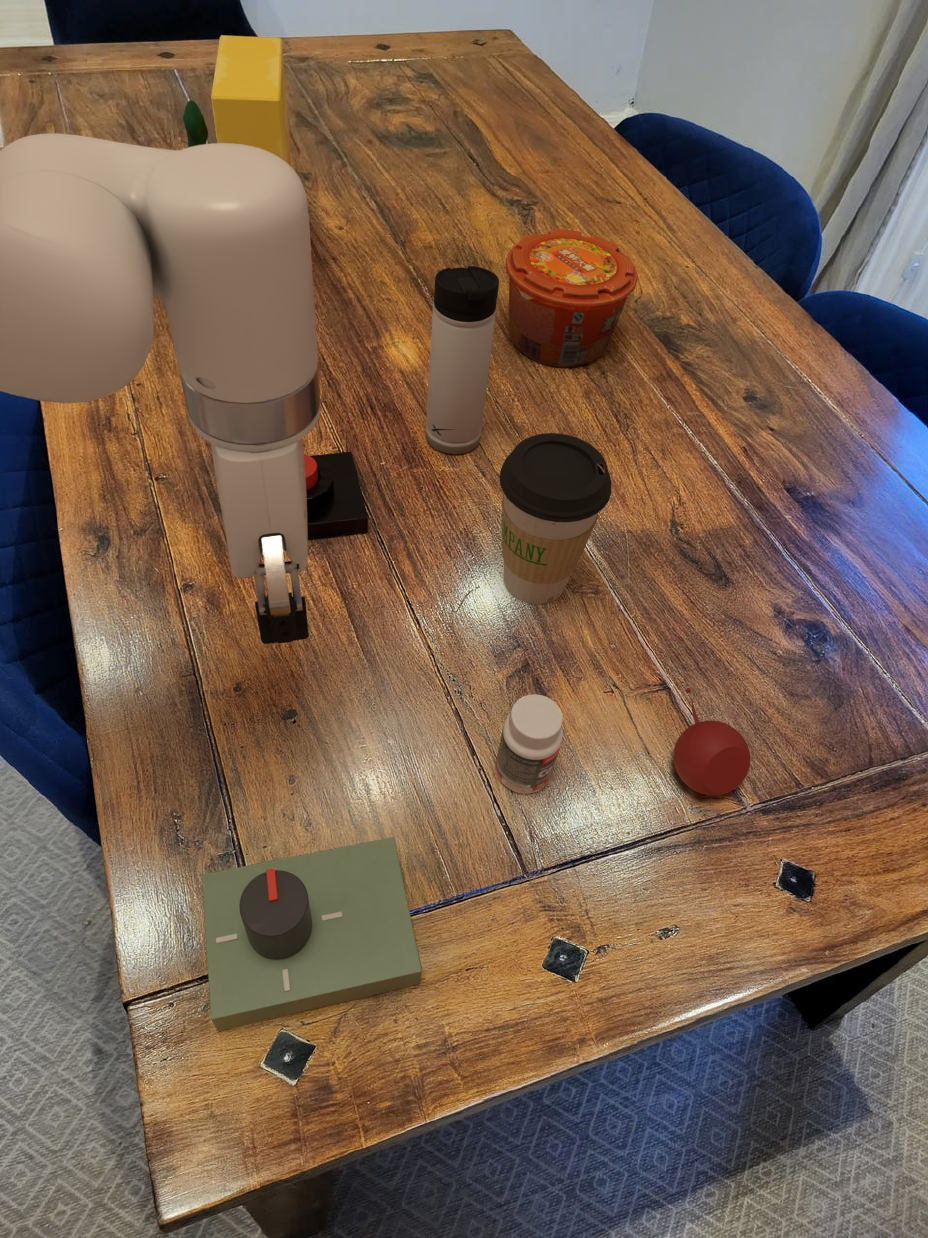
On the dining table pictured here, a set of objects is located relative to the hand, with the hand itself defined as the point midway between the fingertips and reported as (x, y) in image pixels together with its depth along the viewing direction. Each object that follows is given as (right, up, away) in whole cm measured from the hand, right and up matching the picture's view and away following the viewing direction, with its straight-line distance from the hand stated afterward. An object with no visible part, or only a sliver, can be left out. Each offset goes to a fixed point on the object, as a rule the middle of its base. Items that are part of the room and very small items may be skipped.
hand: (279, 584), depth 63 cm
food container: (+25, +34, +50) cm, 65 cm away
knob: (+1, -24, -2) cm, 24 cm away
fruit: (+33, -15, +12) cm, 38 cm away
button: (-3, +12, +25) cm, 27 cm away
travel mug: (+12, +18, +36) cm, 42 cm away
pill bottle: (+18, -15, +10) cm, 26 cm away
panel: (+2, -25, 0) cm, 25 cm away
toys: (-16, +45, +55) cm, 73 cm away
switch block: (-3, +9, +27) cm, 29 cm away
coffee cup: (+20, +1, +24) cm, 31 cm away
